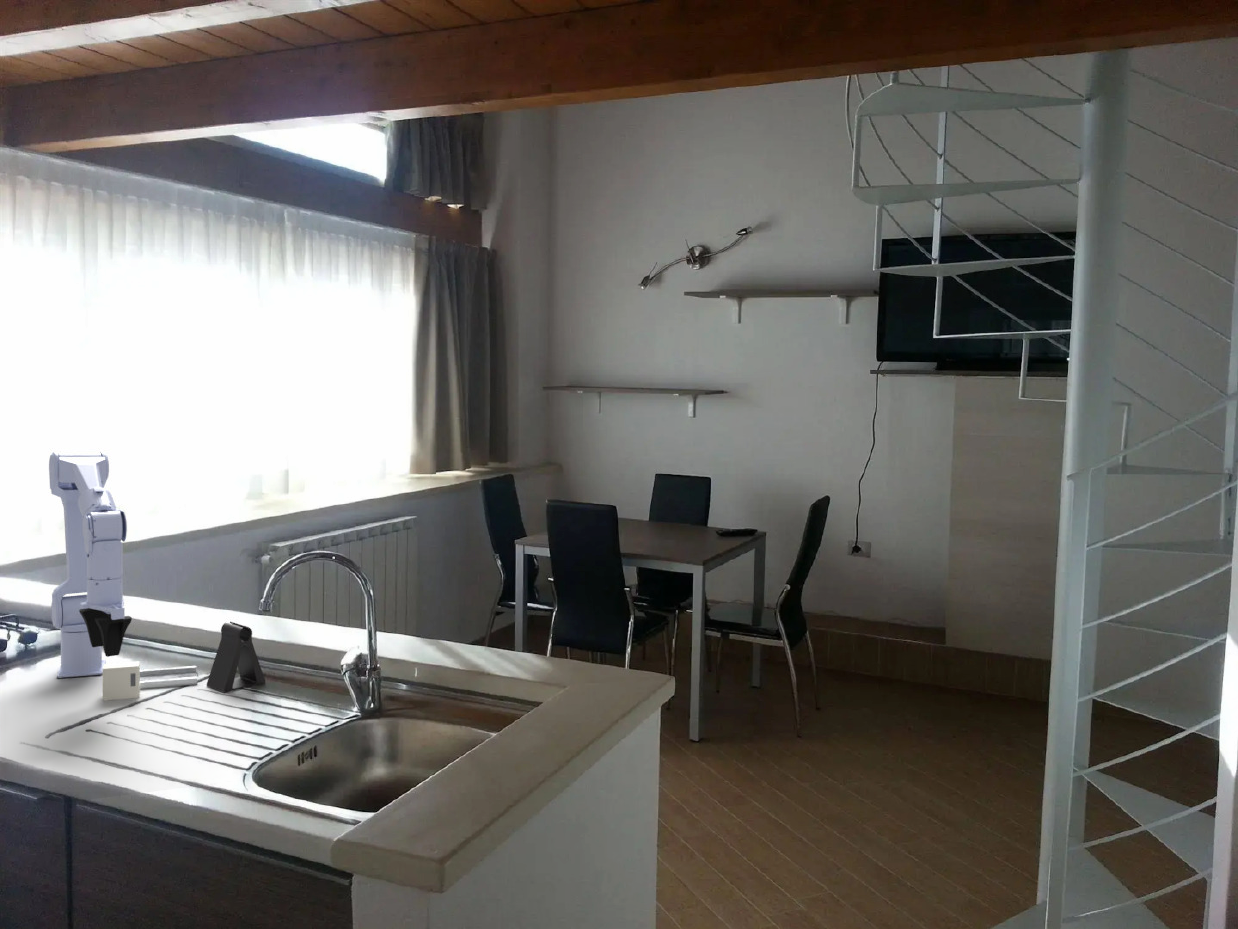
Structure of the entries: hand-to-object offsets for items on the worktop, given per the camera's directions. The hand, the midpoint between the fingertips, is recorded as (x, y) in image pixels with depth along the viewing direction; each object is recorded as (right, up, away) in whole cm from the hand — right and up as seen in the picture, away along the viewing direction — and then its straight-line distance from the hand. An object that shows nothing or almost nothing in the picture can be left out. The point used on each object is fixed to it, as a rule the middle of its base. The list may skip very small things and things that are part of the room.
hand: (105, 650), depth 178 cm
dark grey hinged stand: (+19, -9, +13) cm, 25 cm away
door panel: (+1, -9, +4) cm, 10 cm away
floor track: (+2, -9, +13) cm, 16 cm away
